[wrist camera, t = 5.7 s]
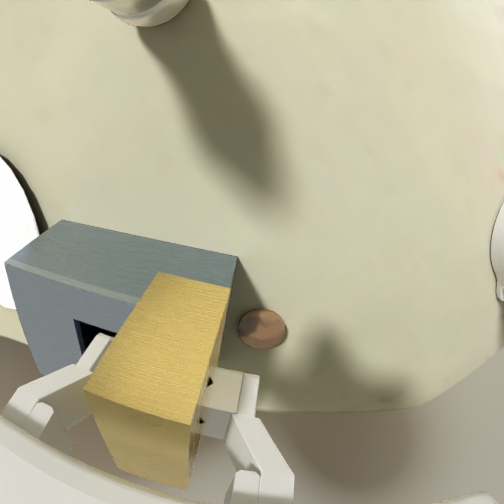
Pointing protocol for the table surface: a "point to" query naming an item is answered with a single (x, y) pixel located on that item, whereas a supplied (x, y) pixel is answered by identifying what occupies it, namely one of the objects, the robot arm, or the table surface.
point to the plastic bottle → (144, 10)
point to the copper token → (261, 329)
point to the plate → (13, 225)
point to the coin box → (94, 284)
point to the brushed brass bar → (159, 378)
